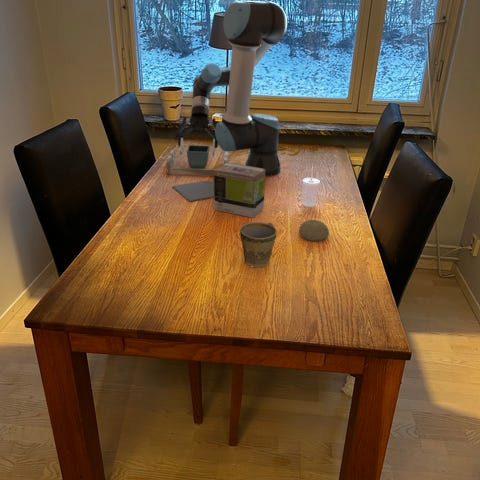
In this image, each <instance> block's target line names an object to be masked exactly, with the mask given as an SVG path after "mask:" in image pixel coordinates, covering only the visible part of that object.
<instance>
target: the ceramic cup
mask: <svg viewBox="0 0 480 480" xmlns="http://www.w3.org/2000/svg"><path fill="white" fill-rule="evenodd" d="M277 232H278V231H277V228H276V227H275V226H274V225H273V223H272V222H268V223H267V222H261V221H259V222H258V221H256V222H255V221H254V222H253V221H252V222H248V223H245V224H243V225H241V226H240V228H239V235H240V239H241V245H242V252H243V257H244V258H243V259H244V262H245V264H246V266H248V265H249V267H251V266H253V267H252V268H254V267H259V268H264V267H266V264H267V265H268V264H269V262H270V259H271V256H272V252H273V247H274V245H275V242H276V240H277V239H276V238H277Z"/></svg>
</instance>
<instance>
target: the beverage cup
mask: <svg viewBox="0 0 480 480" xmlns="http://www.w3.org/2000/svg"><path fill="white" fill-rule="evenodd" d="M313 173H314V166H312V167H311V174H310V176H311V177H305V178H302V203H301V204H302V205H303V206H304V207H315V205H316V202H317V195H318V191H319V185H320V183H321V181H320V180H319V179H318V178H315V177H313V175H314V174H313Z"/></svg>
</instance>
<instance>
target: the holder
mask: <svg viewBox="0 0 480 480" xmlns="http://www.w3.org/2000/svg"><path fill="white" fill-rule="evenodd" d="M223 158H224V160H223V165H224V164H225V163H229V151H224V157H223ZM175 164H176V149H175V148H171V150H170V151H169V155H168V156H167V158H166V175H172V176H173V175H175V176H177V175H178V176H203V177H204V176H205V177H207V176H208V177H209V176H210V177H214V170H215V169H216V168H205V169H193V168H190V167H188V168H187V167H186V168H185V167H174V166H175Z"/></svg>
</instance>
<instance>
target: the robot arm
mask: <svg viewBox="0 0 480 480" xmlns="http://www.w3.org/2000/svg"><path fill="white" fill-rule="evenodd" d="M222 23H223V24H222V27H223V33H224V35H225V37H226V38H227V39H228V43H229V44H230V46H231V47H232V48H231V57H230V66H228V67H227V66H225V67H220V66H219V65H218V64H216V63H214V62H209V63H207V64H206V65H205V66H204V67H203V69H202V70H201V72H200V74H199V75H196V76H195V77H194V79H193V84H192V86H193V87H192V100H191V113H190V115H191V116H190V118H187V117H183V118H182V119H183V120H182V122H181V124H180V125H179V127H178V128H177V130H176V131H175V133H174V134H173V135H174V138H175V140H177V141H178V142H177V145H178V147H179V153H180V155H183V151H184V138H186V137H187V135H189V134H190V133H191V132H192V131H193V130H197V131H199V130H201V131H203V130H205V132H207V133H208V134H209V136H210V137H211V138H212V139H213V140H212V153H211V154H212V156H213V157H214V156H215V155H216V154H215V153H216V149H217V148H218V146H219V147H220V149H221V150H222V151H224V152H225V151H228V152H236V151H237V152H238V151H243V150H245V151H246V150H249V153H248V155H247V158H246V161H245V164H244V165H245V166H251V167H257V168H264V169H265V177H270V176H275V175H278V174H280V173H281V163H280V159H279V154H278V149H279V148H278V147H279V138H280V137H279V134H280V120H279V118H277V117H275V116H273V115H269V114H263V113H252V114H250V106H251V95H252V90H253V89H252V87H253V80H254V71H255V67H256V66H257V65H258V63H259V62H260V60H262V58H264V56H265V54H267V52H268V51H269V50H270V48H272V46H275V45H277V44H278V43H279V42H280V41H281V40H282V38H283V37H284V36H285V34H286V32H287V27H288V19H287V15H286V13H285V10H284V9H283V8H282V6H281V5H280V4H278V3H276V2H273V1H259V0H258V1H257V0H237V1H235V0H234V1H233V2H231V3H230V4H229V6H227V8H226V11H225V13H224V16H223V21H222ZM227 86H228V90H227V91H228V92H227V101H226V102H227V103H226V104H227V105H226V111H225V112H224V113H223V114H221V115H222V116H221V121H218V122H217V123H216V118H212V119H209V118H210V117H209V115H210V99H211V98H210V97H211V92H212V91H213V90H214V88H215V87H227ZM189 123H190V124H189ZM188 124H189V125H188ZM209 124H210V125H211V126H212V128H213V130H214V131H215V132H214V131H213V130H212V128H211V127H210V126H209ZM187 125H188V126H187ZM186 126H187V127H186Z"/></svg>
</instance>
